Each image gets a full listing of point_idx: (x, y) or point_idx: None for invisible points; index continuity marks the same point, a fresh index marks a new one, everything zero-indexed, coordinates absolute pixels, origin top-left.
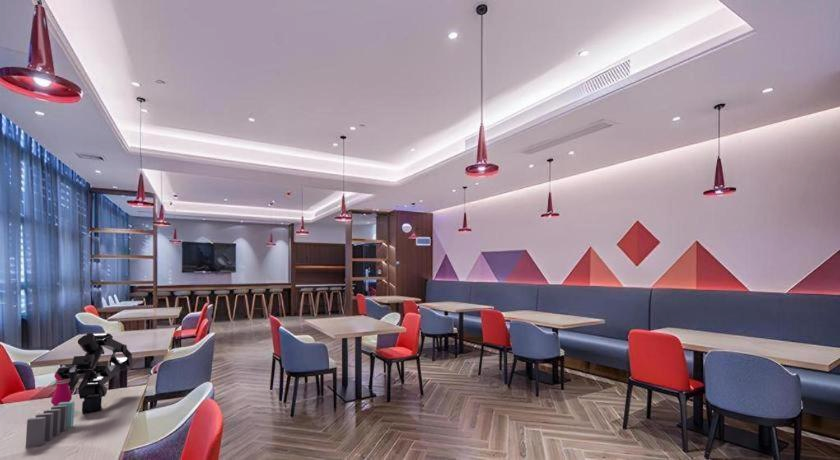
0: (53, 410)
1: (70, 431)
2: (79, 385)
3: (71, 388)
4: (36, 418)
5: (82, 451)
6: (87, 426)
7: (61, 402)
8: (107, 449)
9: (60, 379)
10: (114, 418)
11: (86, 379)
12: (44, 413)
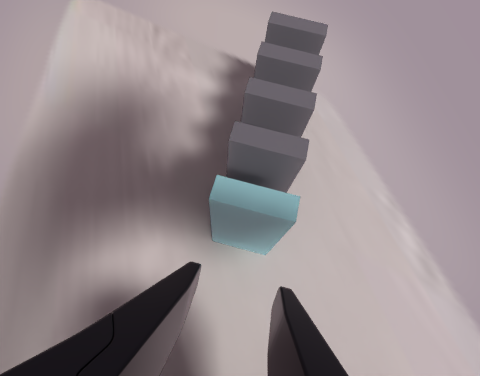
0: (272, 84)
1: (206, 178)
2: (189, 284)
3: (277, 301)
4: (297, 21)
5: (144, 23)
6: (155, 205)
7: (290, 218)
8: (90, 9)
9: None
10: (49, 262)
11: (69, 356)
12: (295, 61)
